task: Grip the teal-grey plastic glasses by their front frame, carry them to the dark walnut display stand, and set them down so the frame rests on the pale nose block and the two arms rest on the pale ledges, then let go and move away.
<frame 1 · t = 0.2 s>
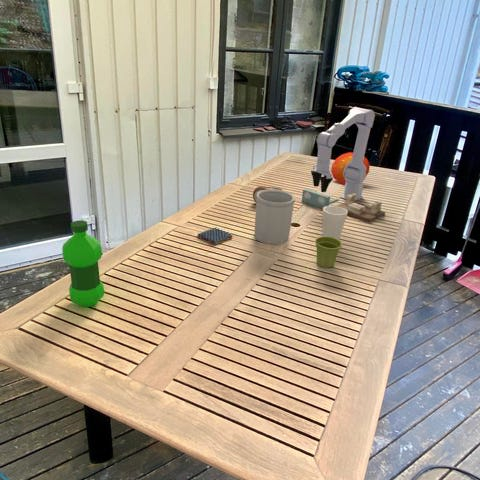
hand: (319, 189, 202), 10 cm above the table, tool pointing down, fingers open, 7 cm apart
utensil holder: (271, 237, 176), on the table
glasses: (314, 204, 211), on the table
plant pot: (325, 264, 158), on the table
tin: (268, 204, 208), on the table
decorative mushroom: (347, 181, 247), on the table
plastic bottle: (88, 302, 129), on the table
foam cup: (330, 241, 176), on the table
display stand: (355, 213, 203), on the table
woven mat: (214, 239, 173), on the table
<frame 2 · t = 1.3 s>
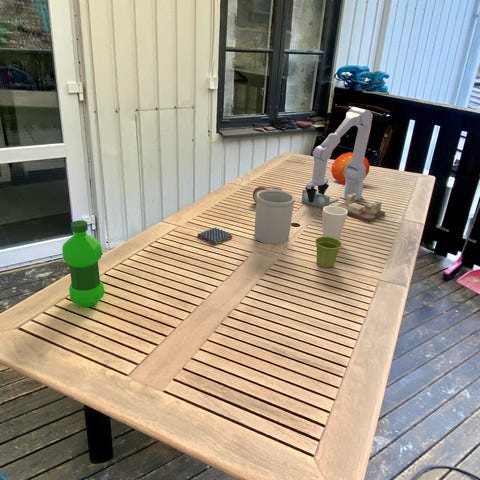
hand: (315, 200, 210), 2 cm above the table, tool pointing down, fingers open, 7 cm apart
nothing on the table moved.
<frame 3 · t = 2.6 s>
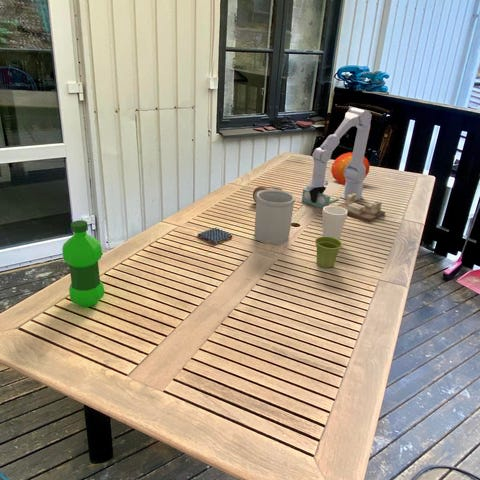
hand: (315, 201, 211), 1 cm above the table, tool pointing down, fingers closed on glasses, 2 cm apart
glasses: (314, 204, 211), on the table, touching gripper
everything else where it was.
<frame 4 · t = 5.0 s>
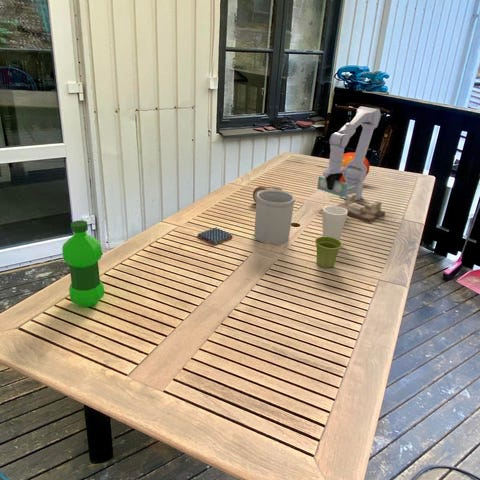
hand: (331, 188, 204), 9 cm above the table, tool pointing down, fingers closed on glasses, 2 cm apart
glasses: (331, 192, 205), point 8 cm above the table, touching gripper
everything else where it was.
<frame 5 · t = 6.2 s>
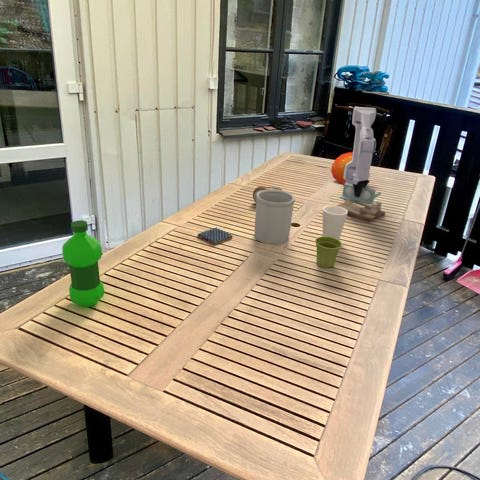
hand: (358, 196, 199), 9 cm above the table, tool pointing down, fingers closed on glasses, 2 cm apart
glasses: (357, 199, 200), point 7 cm above the table, touching gripper
everything else where it was.
when the fingers open (6 cm above the table, at t = 7.3 s): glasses stays where it is, resting on display stand.
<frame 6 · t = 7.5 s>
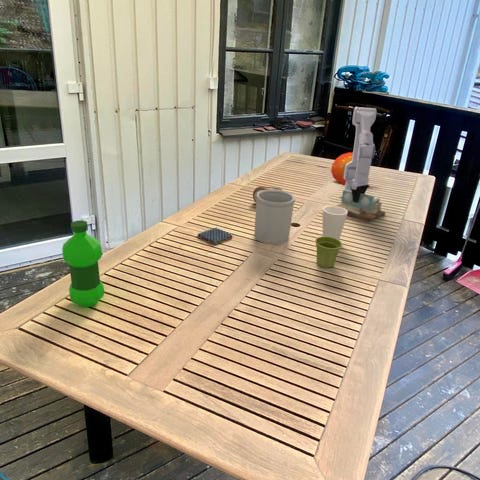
hand: (357, 200, 200), 6 cm above the table, tool pointing down, fingers open, 4 cm apart
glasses: (356, 205, 201), point 4 cm above the table, touching display stand
everything else where it was.
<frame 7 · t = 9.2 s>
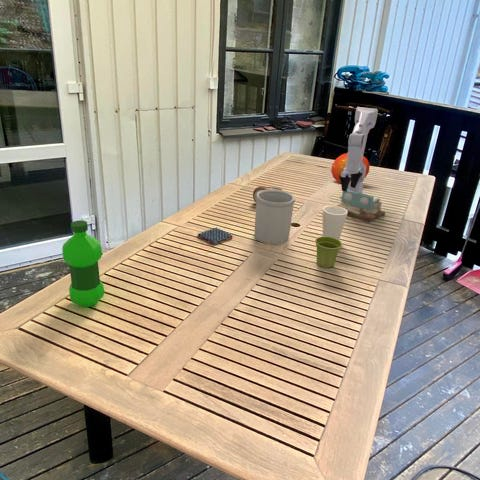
hand: (348, 189, 204), 10 cm above the table, tool pointing down, fingers open, 7 cm apart
nothing on the table moved.
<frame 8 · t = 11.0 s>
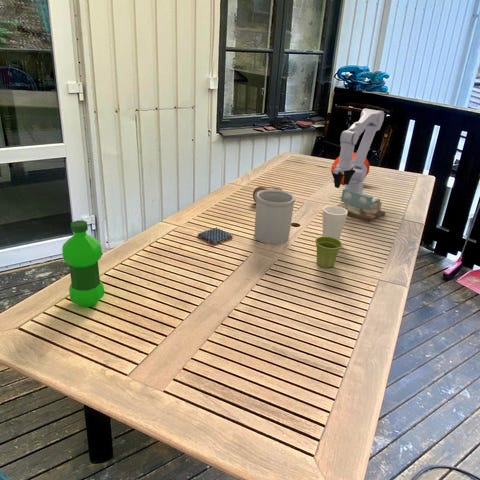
hand: (341, 185, 207), 10 cm above the table, tool pointing down, fingers open, 7 cm apart
nothing on the table moved.
at the end: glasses 0.8 cm off-centre on the display stand, point 4.0 cm above the display stand's base; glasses tilted 0°; the gripper is holding nothing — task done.
